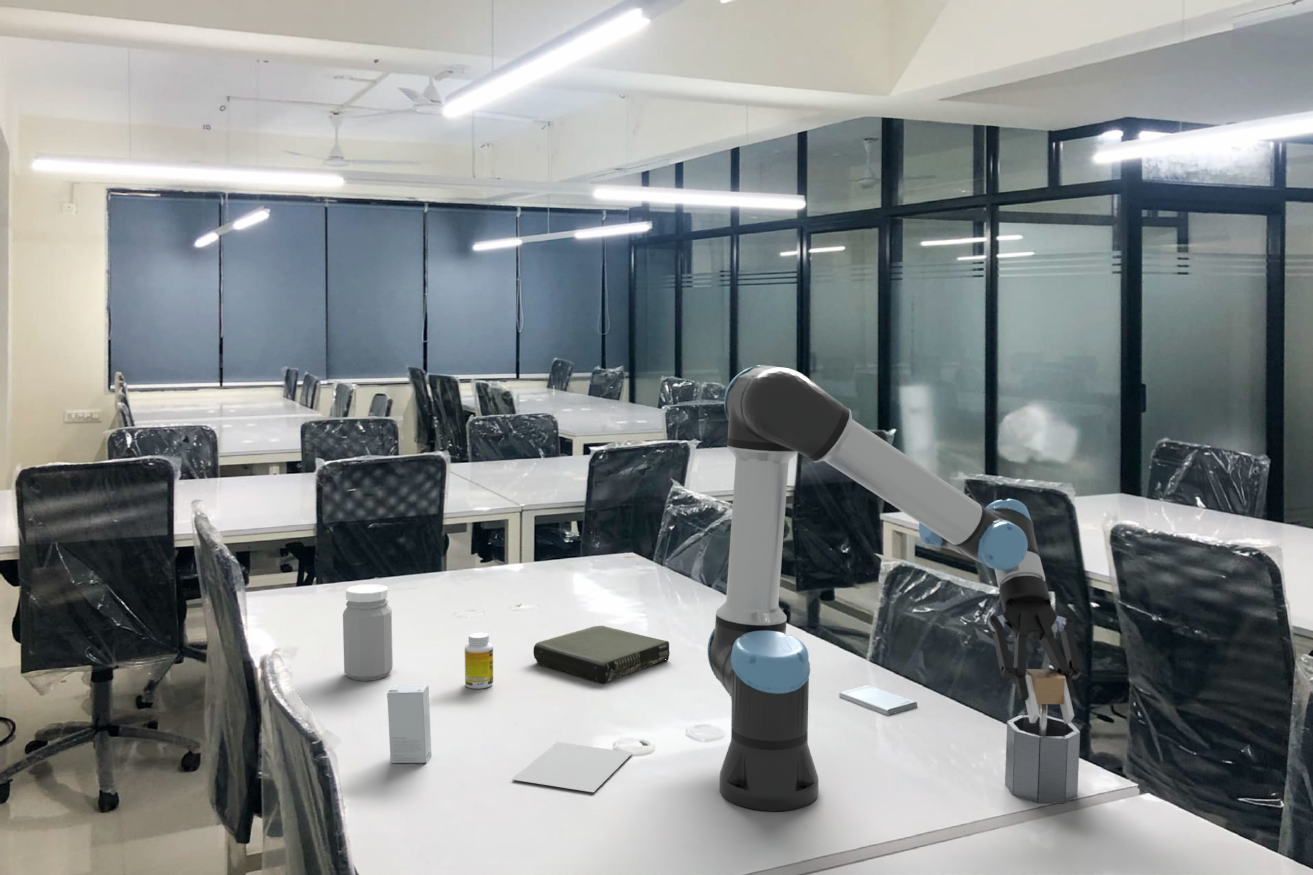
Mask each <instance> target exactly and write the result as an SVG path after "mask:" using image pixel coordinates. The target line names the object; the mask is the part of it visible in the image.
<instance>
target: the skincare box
mask: <svg viewBox="0 0 1313 875" xmlns="http://www.w3.org/2000/svg"><path fill="white" fill-rule="evenodd" d="M429 687H430V686H429V685H428V684H394V685H392V686H391V687H390V689H389V691H387V695H386V696H387V697H386V698H387V711H388V712H387V713H388V734H389V735H388V736H389V754H390V755H389V756H390V757H389V758H390V763H391V764H426V763H428V761H429V759H430V758H431V756H432V737H431V736H432V735H431V716H430V715H431V714H430V713H431V712H430V711H431V710H430V695H429V694H430V689H429Z"/></svg>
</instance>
